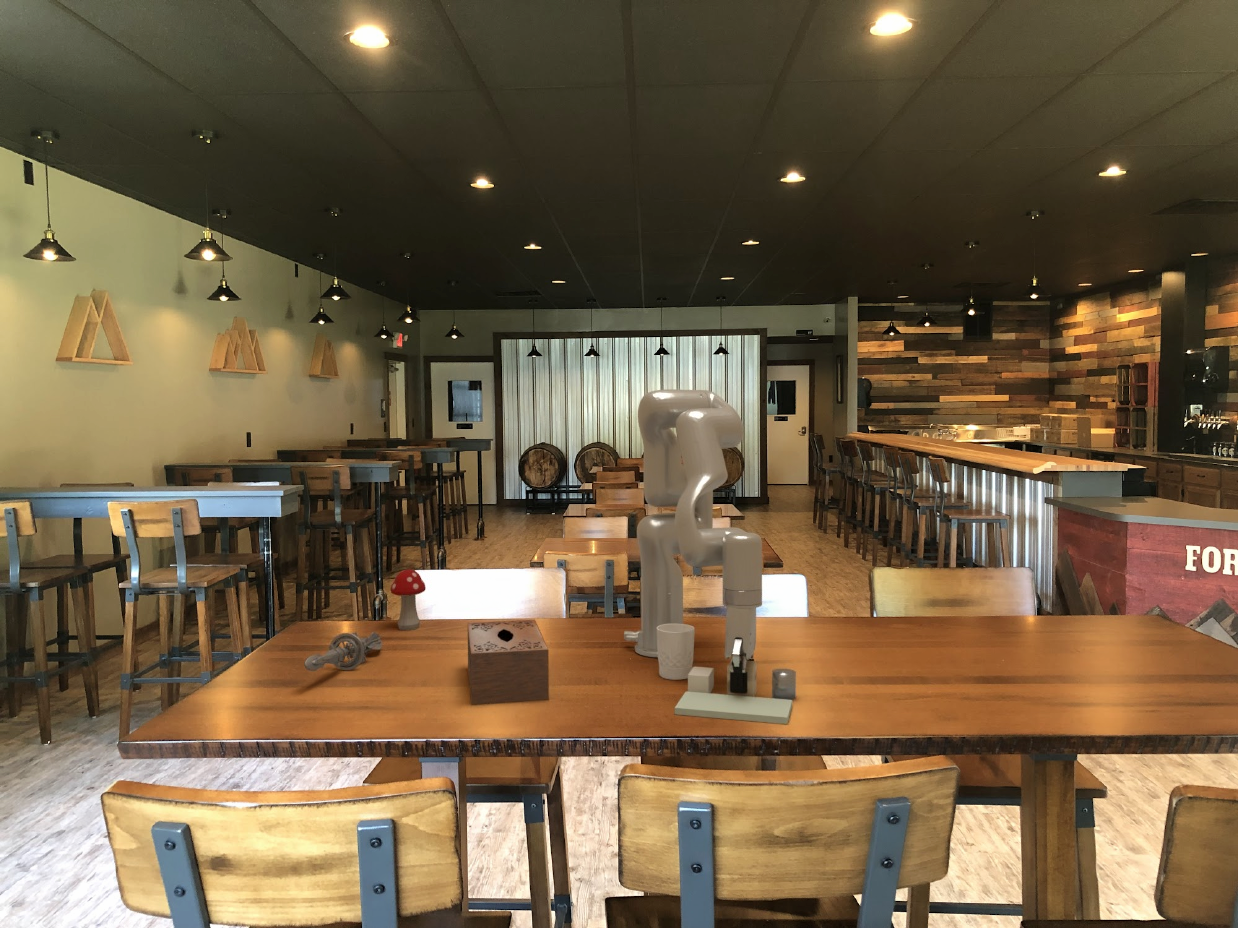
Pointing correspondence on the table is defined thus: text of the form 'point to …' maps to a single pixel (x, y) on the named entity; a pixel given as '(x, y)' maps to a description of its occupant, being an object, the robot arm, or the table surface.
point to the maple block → (751, 679)
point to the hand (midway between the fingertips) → (742, 685)
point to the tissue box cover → (507, 662)
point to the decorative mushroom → (408, 597)
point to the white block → (701, 680)
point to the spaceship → (345, 651)
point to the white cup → (675, 650)
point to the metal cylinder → (784, 684)
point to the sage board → (734, 707)
